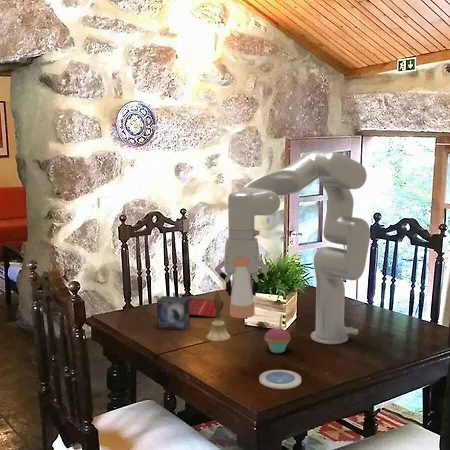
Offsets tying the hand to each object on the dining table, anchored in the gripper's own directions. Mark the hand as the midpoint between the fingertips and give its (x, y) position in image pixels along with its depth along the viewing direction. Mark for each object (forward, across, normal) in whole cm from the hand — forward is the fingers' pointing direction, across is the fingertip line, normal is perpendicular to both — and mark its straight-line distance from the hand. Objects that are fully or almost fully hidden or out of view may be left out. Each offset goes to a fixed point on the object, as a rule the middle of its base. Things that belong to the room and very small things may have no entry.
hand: (242, 294), depth 186 cm
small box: (+24, +27, -39) cm, 53 cm away
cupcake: (+24, -11, -16) cm, 31 cm away
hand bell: (+24, +9, -28) cm, 38 cm away
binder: (+24, +19, -60) cm, 67 cm away
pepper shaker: (+6, 0, 0) cm, 6 cm away
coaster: (+23, -11, +8) cm, 27 cm away
